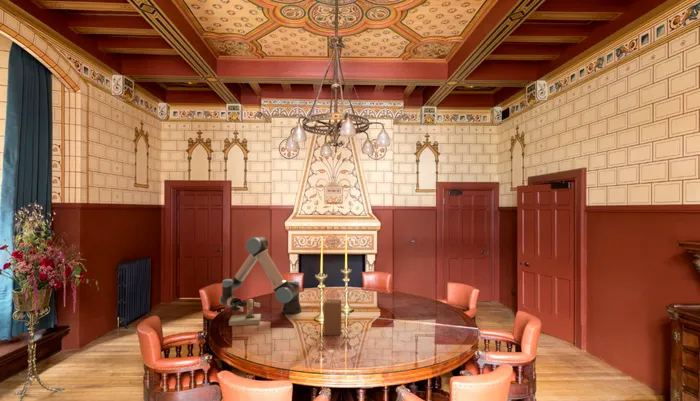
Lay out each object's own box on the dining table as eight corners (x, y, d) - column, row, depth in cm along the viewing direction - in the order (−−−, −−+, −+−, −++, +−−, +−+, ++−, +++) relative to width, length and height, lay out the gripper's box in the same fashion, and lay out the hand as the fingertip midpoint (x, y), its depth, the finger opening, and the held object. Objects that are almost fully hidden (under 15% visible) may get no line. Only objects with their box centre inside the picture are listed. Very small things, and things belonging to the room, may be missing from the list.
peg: (253, 320, 249) (253, 299, 249) (252, 322, 245) (252, 300, 245) (247, 320, 248) (247, 299, 248) (246, 322, 244) (246, 300, 244)
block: (341, 330, 226) (341, 299, 226) (339, 336, 216) (339, 303, 216) (326, 330, 227) (326, 299, 227) (323, 335, 217) (323, 302, 217)
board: (260, 317, 254) (260, 313, 254) (259, 323, 241) (259, 319, 241) (232, 319, 251) (232, 315, 251) (228, 325, 237) (228, 321, 237)
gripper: (249, 304, 268) (266, 309, 255) (218, 311, 249) (235, 317, 235) (249, 294, 268) (266, 298, 255) (218, 300, 249) (235, 305, 236)
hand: (251, 307), depth 245 cm, fingers open, 13 cm apart
